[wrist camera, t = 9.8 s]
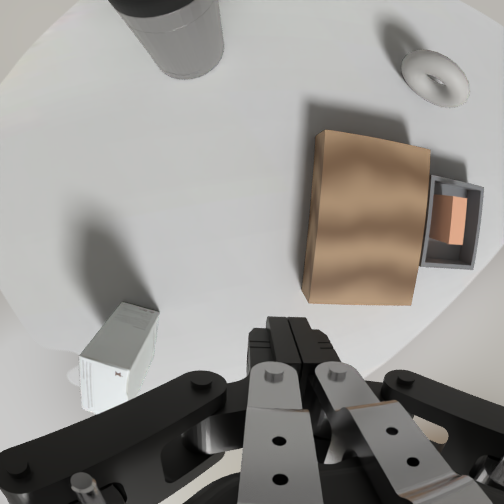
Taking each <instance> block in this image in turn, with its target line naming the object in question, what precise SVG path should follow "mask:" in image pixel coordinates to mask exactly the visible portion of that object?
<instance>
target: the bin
mask: <svg viewBox="0 0 504 504" xmlns="http://www.w3.org/2000/svg"><path fill="white" fill-rule="evenodd" d="M483 193H484V187H481V186H478V185H474V184H470V183H466V182H461V181H457V180H453V179H449V178H444V177H440V176H435V175H429V186H428V198H427V208H426V218H425V226H424V234H423V241H422V248H421V254H420V261H419V266H420V267H434V268H451V269H468V270H473V268H474V263H475V257H476V251H477V245H478V238H479V231H480V223H481V215H482V205H483ZM434 194H436V195H447V196H456V197H462V198H467V208H466V219H465V229H464V238H463V245H456V244H447V243H444V242H441V241H438V240H435V239H432V238H429V233H430V225H431V216H432V207H433V197H434Z"/></svg>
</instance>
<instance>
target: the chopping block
mask: <svg viewBox="0 0 504 504" xmlns="http://www.w3.org/2000/svg"><path fill="white" fill-rule="evenodd" d="M429 171H430V150H429V149H425V148H421V147H417V146H412V145H408V144H403V143H399V142H394V141H389V140H384V139H379V138H374V137H368V136H363V135H357V134H351V133H345V132H339V131H332V130H324V131H322V132H321V133H319V134H318V135H316V136H315V152H314V166H313V179H312V192H311V204H310V215H309V226H308V236H307V246H306V255H305V264H304V273H303V282H302V292H303V294H304V296H305V297H306V299H307V301H308V303H312V304H343V305H411V303H412V298H413V293H414V288H415V283H416V278H417V272H418V267H419V261H420V254H421V248H422V241H423V234H424V226H425V218H426V208H427V198H428V186H429Z"/></svg>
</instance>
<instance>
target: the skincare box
mask: <svg viewBox="0 0 504 504" xmlns="http://www.w3.org/2000/svg"><path fill="white" fill-rule="evenodd" d="M159 314H160V312H157V311H154V310H150V309H146V308H143V307H139V306H136V305H133V304H129V303H126V302H122V303H121V304H120V305H119V306H118V308H117V309H116V310H115V311H114V312H113V314H112V315H111V316H110V317H109V319H108V320H107V321H106V322H105V324H104V325H103V326H102V327H101V329H100V330H99V331H98V332H97V334H96V335H95V336H94V338H93V339H92V340H91V341H90V343H89V344H88V345H87V346H86V348H85V349H84V350H83V352H82V353H81V354H80V355H79V377H80V392H81V404H82V409H84V410H86V411H89V412H92V413H95V414H99V413H102V412H104V411H106V410H108V409H111V408H113V407H115V406H118V405H120V404H122V403H124V402H126V401H129V400H131V399H133V398H135V397H137V396H138V394H139V391H140V389H141V386H142V384H143V381H144V379H145V377H146V374H147V372H148V369H149V367H150V365H151V362H152V360H153V358H154V352H155V345H156V337H157V330H158V320H159Z"/></svg>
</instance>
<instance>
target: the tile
mask: <svg viewBox="0 0 504 504" xmlns="http://www.w3.org/2000/svg"><path fill="white" fill-rule="evenodd" d="M466 208H467V198H462V197H456V196H447V195H436V194H434V197H433V207H432V216H431V225H430V233H429V238H432V239H435V240H438V241H441V242H444V243H447V244H456V245H463V238H464V229H465V219H466Z"/></svg>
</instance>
